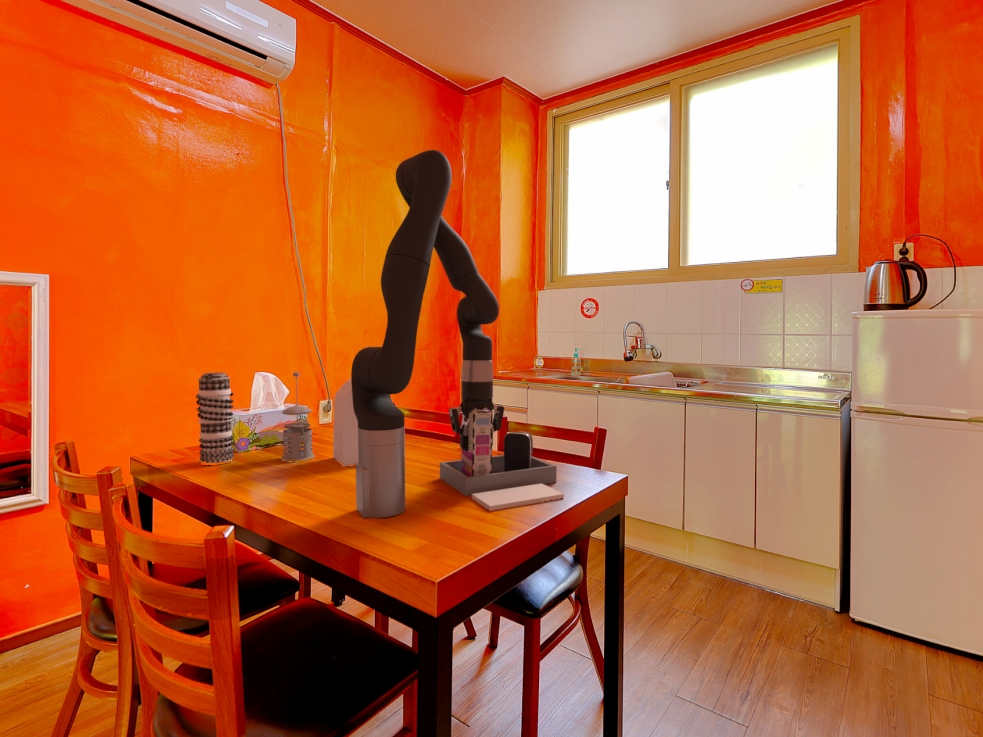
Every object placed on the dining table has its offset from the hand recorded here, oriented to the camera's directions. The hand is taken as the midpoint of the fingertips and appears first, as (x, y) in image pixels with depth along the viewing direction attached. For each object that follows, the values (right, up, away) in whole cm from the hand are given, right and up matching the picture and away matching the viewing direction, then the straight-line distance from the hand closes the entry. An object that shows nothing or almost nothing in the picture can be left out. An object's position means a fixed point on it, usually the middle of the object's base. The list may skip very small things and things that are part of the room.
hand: (476, 449), depth 124 cm
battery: (+10, -8, +6) cm, 14 cm away
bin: (+5, -8, +3) cm, 10 cm away
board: (+9, -9, -11) cm, 17 cm away
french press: (-52, -7, +25) cm, 58 cm away
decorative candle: (-73, -7, +21) cm, 76 cm away
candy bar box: (0, -7, 0) cm, 7 cm away
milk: (-34, -7, +24) cm, 42 cm away
